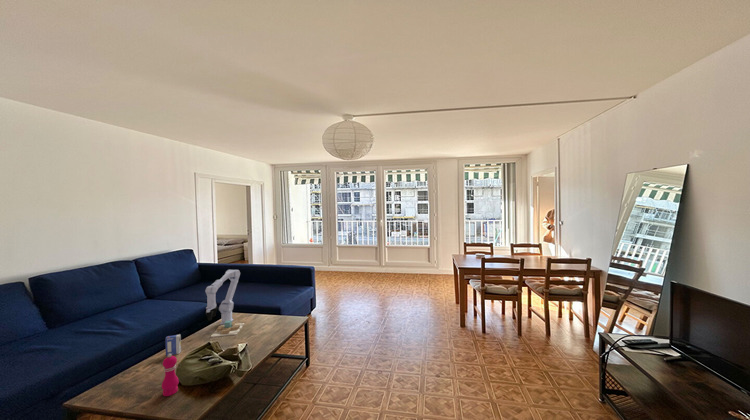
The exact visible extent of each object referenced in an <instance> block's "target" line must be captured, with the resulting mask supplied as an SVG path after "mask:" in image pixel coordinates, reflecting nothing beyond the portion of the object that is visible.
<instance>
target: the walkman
mask: <svg viewBox="0 0 750 420" xmlns="http://www.w3.org/2000/svg"><path fill="white" fill-rule="evenodd" d="M164 338H165V356H166V357H168V354H172V356H175V355H178V354H180V353H181V352H182V336H181V334H180V333H179V334H174V335H168V336H166V337H164Z"/></svg>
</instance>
